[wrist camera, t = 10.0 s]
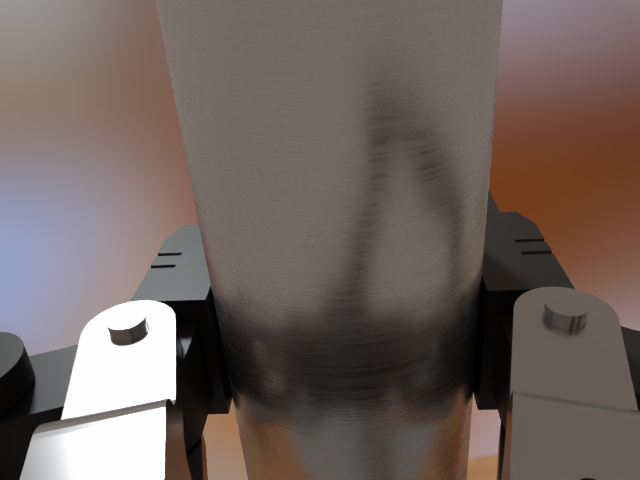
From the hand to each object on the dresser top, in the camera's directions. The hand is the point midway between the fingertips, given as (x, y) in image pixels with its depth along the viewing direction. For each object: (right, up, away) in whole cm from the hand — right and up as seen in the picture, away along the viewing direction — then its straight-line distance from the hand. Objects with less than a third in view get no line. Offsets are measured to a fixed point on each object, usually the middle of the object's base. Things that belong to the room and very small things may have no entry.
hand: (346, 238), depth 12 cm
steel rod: (+1, -10, +2) cm, 10 cm away
